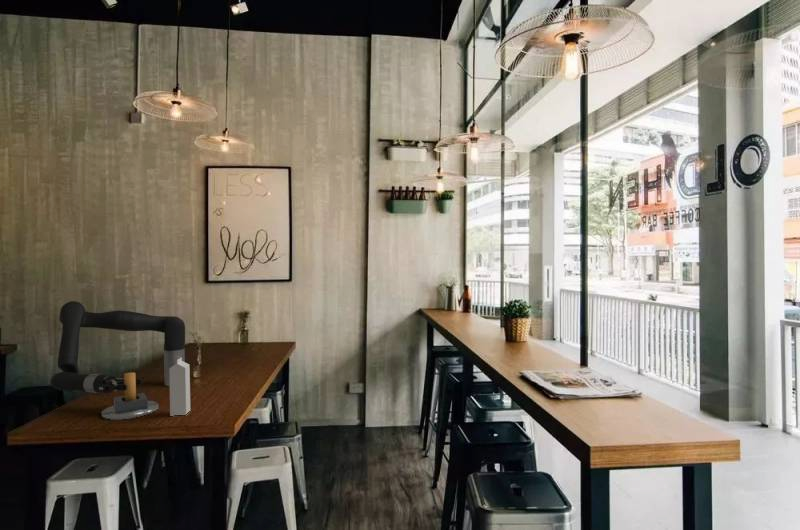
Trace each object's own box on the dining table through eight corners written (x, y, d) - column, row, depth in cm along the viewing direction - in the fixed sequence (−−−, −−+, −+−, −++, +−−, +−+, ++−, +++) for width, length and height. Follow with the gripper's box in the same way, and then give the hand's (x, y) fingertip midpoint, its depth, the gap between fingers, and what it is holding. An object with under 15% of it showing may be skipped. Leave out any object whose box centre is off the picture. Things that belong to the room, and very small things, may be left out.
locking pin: (135, 405, 195) (134, 371, 195) (136, 408, 191) (135, 373, 191) (124, 407, 193) (123, 373, 192) (125, 410, 189) (124, 375, 189)
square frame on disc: (155, 401, 206) (154, 388, 206) (161, 413, 189) (161, 399, 189) (100, 410, 195) (100, 396, 195) (102, 423, 178) (102, 409, 178)
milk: (190, 411, 192) (189, 356, 192) (186, 416, 186) (185, 359, 186) (174, 412, 191) (173, 357, 191) (169, 416, 185) (169, 360, 185)
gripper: (84, 378, 188) (120, 379, 185) (113, 370, 202) (146, 371, 198) (85, 397, 188) (121, 399, 185) (113, 387, 202) (147, 389, 199)
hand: (134, 384), depth 192 cm, fingers open, 8 cm apart
